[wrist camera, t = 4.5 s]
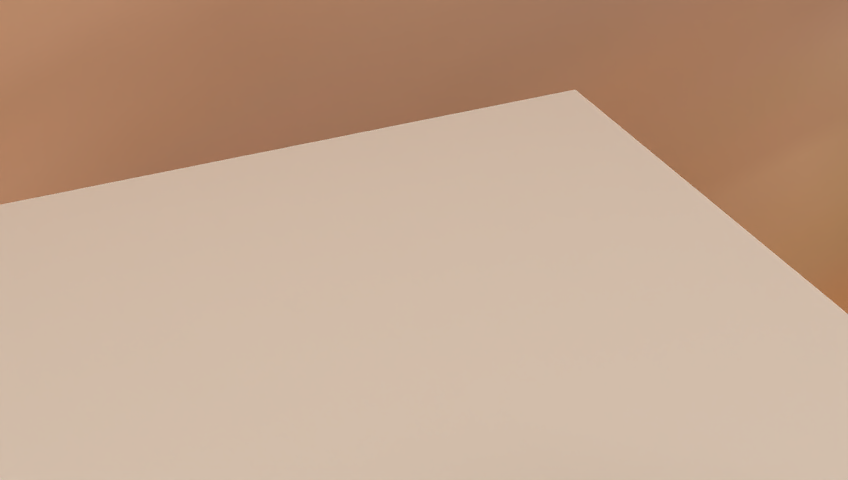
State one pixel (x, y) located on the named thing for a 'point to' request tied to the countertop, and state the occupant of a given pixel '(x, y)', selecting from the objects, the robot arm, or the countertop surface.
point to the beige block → (414, 318)
